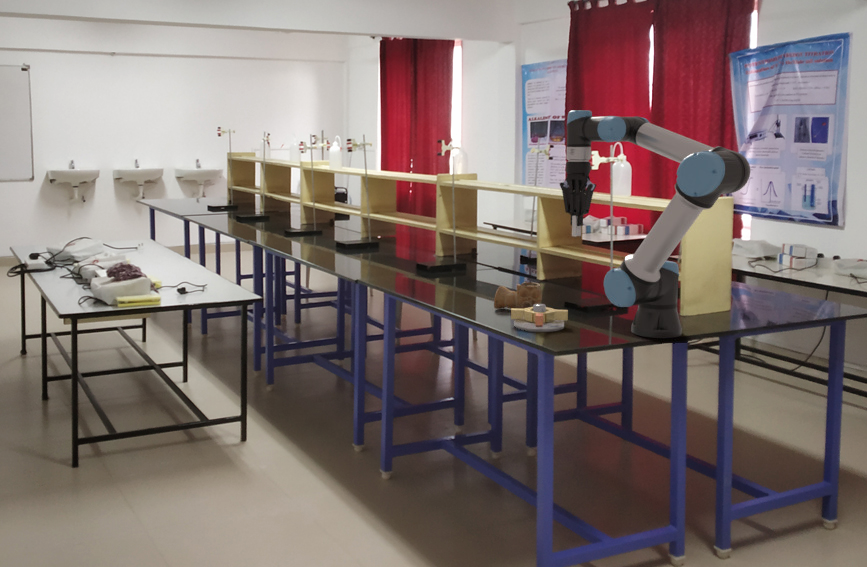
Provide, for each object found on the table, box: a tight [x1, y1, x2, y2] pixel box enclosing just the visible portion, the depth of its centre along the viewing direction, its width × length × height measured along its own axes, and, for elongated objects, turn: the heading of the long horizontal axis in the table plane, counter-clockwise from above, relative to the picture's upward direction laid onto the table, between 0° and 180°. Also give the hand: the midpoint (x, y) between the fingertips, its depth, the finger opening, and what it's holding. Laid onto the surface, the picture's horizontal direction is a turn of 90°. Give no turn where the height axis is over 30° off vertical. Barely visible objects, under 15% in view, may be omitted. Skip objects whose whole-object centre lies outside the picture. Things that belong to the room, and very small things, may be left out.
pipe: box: [493, 281, 543, 310], centre depth 296 cm, size 9×16×10 cm, turn 68°
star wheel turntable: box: [513, 303, 565, 333], centre depth 273 cm, size 16×16×7 cm
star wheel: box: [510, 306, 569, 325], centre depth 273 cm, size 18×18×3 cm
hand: (576, 235), depth 269 cm, fingers closed
